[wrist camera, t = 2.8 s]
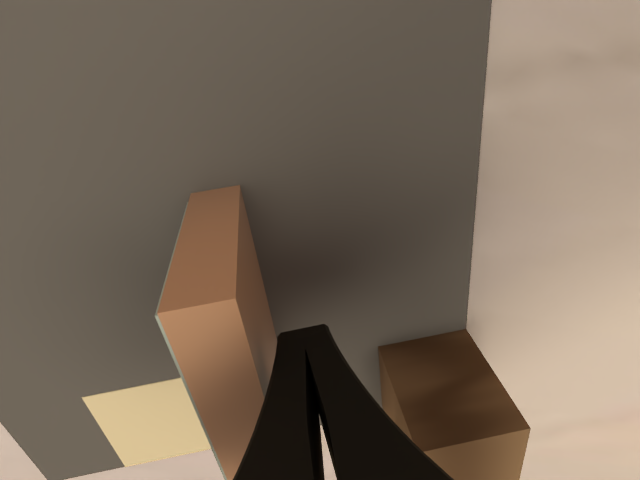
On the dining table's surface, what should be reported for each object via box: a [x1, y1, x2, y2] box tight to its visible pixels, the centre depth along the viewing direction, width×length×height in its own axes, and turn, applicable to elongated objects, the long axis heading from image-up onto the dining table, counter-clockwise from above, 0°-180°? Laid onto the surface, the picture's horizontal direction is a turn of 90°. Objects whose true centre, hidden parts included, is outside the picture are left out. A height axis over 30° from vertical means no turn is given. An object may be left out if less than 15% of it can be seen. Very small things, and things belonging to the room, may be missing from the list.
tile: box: [155, 185, 277, 480], centre depth 13 cm, size 2×7×6 cm, turn 7°
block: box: [378, 329, 531, 480], centre depth 17 cm, size 4×4×5 cm
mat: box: [0, 0, 492, 480], centre depth 16 cm, size 20×19×1 cm
